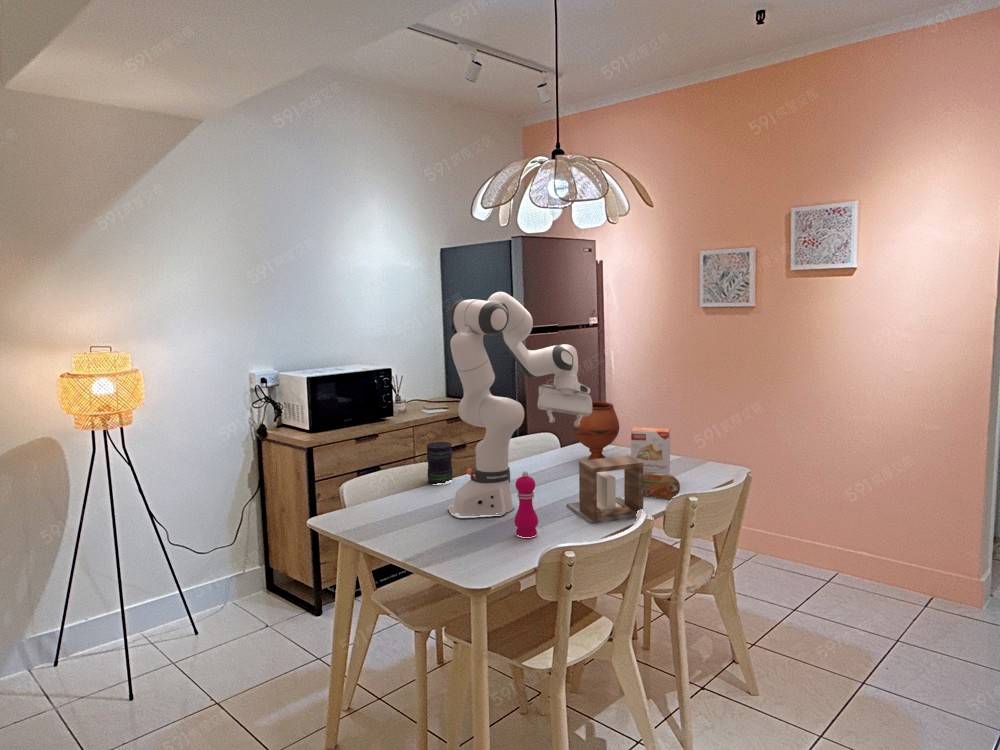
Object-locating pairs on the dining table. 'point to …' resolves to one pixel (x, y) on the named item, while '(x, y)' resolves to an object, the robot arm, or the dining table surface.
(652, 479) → the tin
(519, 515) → the pepper mill
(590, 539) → the dining table surface
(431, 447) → the storage jar
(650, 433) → the cracker box
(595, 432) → the goblet
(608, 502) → the tall narrow cream block
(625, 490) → the frame
